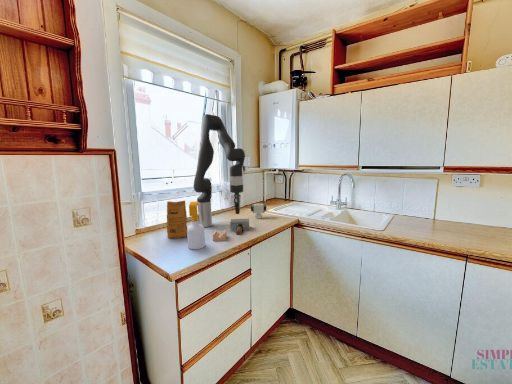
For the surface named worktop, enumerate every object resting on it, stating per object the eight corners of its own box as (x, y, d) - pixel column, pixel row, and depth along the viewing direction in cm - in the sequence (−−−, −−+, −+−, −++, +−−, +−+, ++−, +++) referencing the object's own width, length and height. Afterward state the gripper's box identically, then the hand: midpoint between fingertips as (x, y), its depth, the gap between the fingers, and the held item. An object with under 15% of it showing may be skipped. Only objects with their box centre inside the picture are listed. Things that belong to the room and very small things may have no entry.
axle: (242, 234, 143) (241, 229, 143) (236, 235, 143) (235, 230, 143) (243, 226, 159) (242, 221, 159) (238, 227, 159) (237, 222, 159)
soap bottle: (206, 242, 131) (204, 200, 127) (203, 249, 122) (200, 203, 118) (190, 243, 131) (187, 200, 127) (186, 250, 122) (182, 204, 118)
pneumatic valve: (266, 218, 177) (266, 203, 175) (251, 219, 177) (250, 203, 175) (266, 216, 183) (265, 201, 181) (251, 217, 183) (250, 202, 181)
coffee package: (170, 233, 149) (167, 199, 145) (189, 232, 149) (187, 199, 146) (165, 239, 139) (162, 203, 135) (186, 238, 140) (183, 202, 136)
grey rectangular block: (249, 230, 151) (248, 221, 150) (230, 230, 151) (230, 222, 150) (249, 227, 158) (248, 218, 157) (231, 227, 158) (231, 219, 157)
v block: (225, 240, 134) (224, 233, 133) (212, 240, 134) (212, 234, 133) (226, 236, 141) (226, 230, 140) (214, 236, 141) (214, 230, 140)
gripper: (231, 182, 140) (232, 210, 142) (228, 185, 126) (230, 216, 129) (243, 182, 140) (244, 210, 142) (242, 185, 126) (243, 216, 129)
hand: (237, 213), depth 136 cm, fingers closed
